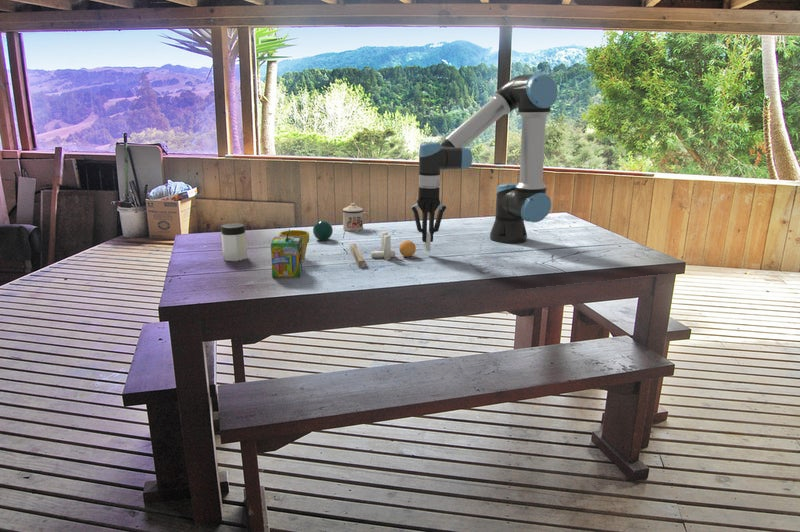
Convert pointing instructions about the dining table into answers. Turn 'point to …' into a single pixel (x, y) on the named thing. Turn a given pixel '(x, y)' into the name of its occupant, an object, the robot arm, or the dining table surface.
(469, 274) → the dining table surface
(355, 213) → the teacup with lid
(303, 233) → the plant pot
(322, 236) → the sphere
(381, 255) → the front pin
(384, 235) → the pin
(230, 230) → the jar
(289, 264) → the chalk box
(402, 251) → the ball
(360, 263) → the brown wooden bar
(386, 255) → the pin
